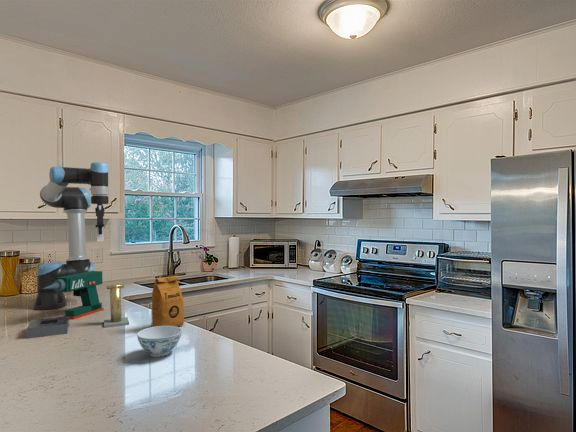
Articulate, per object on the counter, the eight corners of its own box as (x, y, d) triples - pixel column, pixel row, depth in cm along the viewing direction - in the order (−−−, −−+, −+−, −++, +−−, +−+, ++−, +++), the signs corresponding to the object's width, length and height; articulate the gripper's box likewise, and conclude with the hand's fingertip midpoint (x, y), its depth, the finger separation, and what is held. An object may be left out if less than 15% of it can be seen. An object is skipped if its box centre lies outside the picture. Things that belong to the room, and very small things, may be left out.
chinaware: (140, 364, 129) (140, 341, 129) (134, 350, 143) (134, 329, 143) (186, 356, 136) (186, 334, 136) (177, 344, 150) (176, 323, 149)
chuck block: (31, 329, 170) (31, 319, 170) (69, 324, 176) (69, 315, 176) (26, 338, 157) (26, 328, 157) (67, 333, 164) (67, 323, 164)
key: (107, 320, 179) (106, 284, 178) (124, 318, 182) (123, 283, 182) (107, 323, 175) (106, 286, 175) (124, 321, 178) (124, 284, 178)
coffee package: (187, 326, 172) (186, 276, 172) (160, 332, 164) (159, 279, 164) (175, 322, 180) (175, 273, 179) (149, 327, 171) (148, 277, 171)
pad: (103, 322, 180) (103, 319, 180) (127, 319, 185) (127, 317, 185) (104, 327, 172) (104, 325, 172) (129, 324, 176) (129, 322, 176)
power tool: (49, 327, 173) (48, 281, 172) (37, 326, 175) (36, 281, 174) (104, 310, 203) (103, 271, 203) (93, 309, 205) (93, 270, 205)
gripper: (91, 196, 196) (91, 239, 196) (90, 194, 174) (91, 242, 174) (107, 196, 200) (108, 238, 200) (109, 194, 177) (109, 241, 177)
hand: (100, 240), depth 187 cm, fingers open, 13 cm apart
